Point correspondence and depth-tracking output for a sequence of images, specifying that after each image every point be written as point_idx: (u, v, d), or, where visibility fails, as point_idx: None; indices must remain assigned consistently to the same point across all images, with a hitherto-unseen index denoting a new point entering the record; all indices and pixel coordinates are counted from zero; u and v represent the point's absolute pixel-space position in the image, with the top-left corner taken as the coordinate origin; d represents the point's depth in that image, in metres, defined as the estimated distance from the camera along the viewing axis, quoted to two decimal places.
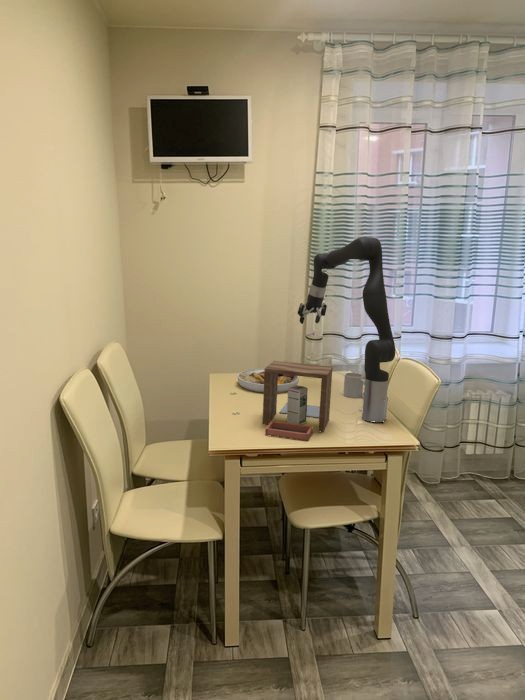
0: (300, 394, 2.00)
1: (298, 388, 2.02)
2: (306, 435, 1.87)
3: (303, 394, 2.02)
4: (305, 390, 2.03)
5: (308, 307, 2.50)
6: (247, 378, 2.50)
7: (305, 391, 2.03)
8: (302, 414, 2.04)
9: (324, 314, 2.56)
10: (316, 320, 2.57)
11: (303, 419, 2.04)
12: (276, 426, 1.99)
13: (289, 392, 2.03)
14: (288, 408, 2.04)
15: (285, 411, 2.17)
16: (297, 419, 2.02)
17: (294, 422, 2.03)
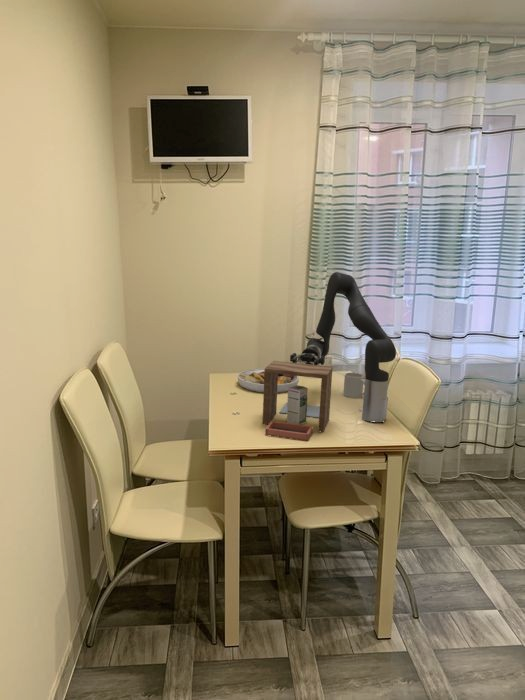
0: (300, 394, 2.00)
1: (298, 388, 2.02)
2: (306, 435, 1.87)
3: (303, 394, 2.02)
4: (305, 390, 2.03)
5: None
6: (247, 378, 2.50)
7: (305, 391, 2.03)
8: (302, 414, 2.04)
9: (323, 358, 2.15)
10: None
11: (303, 419, 2.04)
12: (276, 426, 1.99)
13: (289, 392, 2.03)
14: (288, 408, 2.04)
15: (285, 411, 2.17)
16: (297, 419, 2.02)
17: (294, 422, 2.03)
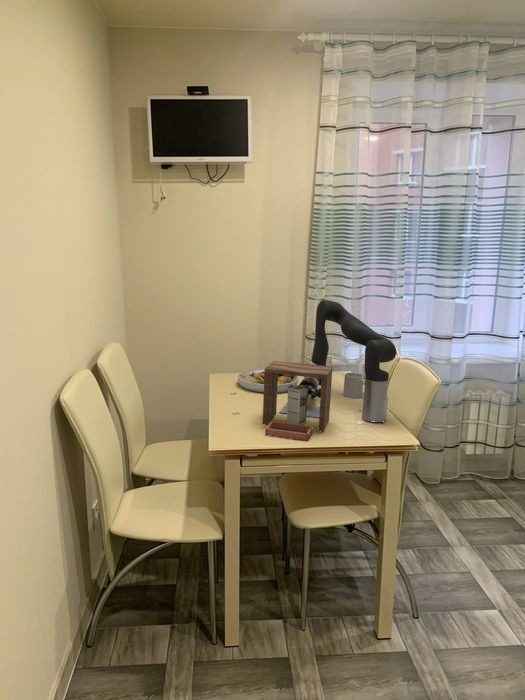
0: (300, 394, 2.00)
1: (298, 388, 2.02)
2: (306, 435, 1.87)
3: (303, 394, 2.02)
4: (305, 390, 2.03)
5: None
6: (247, 378, 2.50)
7: (305, 391, 2.03)
8: (302, 414, 2.04)
9: (320, 391, 2.15)
10: None
11: (303, 419, 2.04)
12: (276, 426, 1.99)
13: (289, 392, 2.02)
14: (288, 408, 2.04)
15: (285, 411, 2.17)
16: (297, 419, 2.02)
17: (294, 422, 2.03)
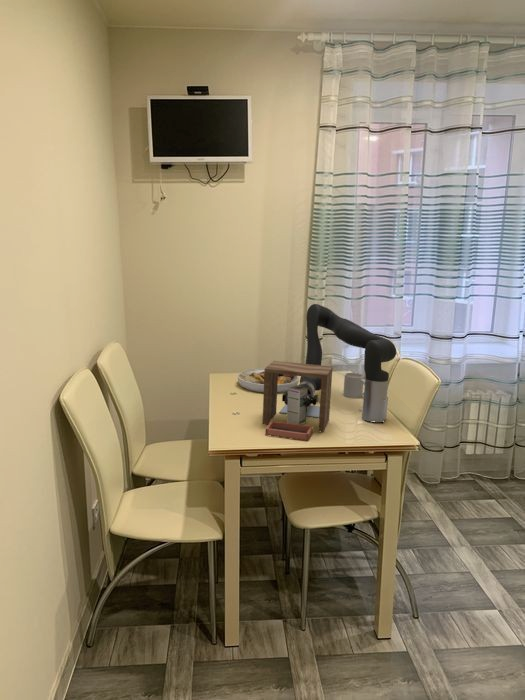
0: (300, 394, 2.00)
1: (298, 388, 2.02)
2: (306, 435, 1.87)
3: (303, 394, 2.02)
4: (305, 390, 2.03)
5: None
6: (247, 378, 2.50)
7: (305, 391, 2.03)
8: (302, 414, 2.04)
9: (315, 398, 2.05)
10: None
11: (303, 419, 2.04)
12: (276, 426, 1.99)
13: (289, 392, 2.02)
14: (288, 408, 2.04)
15: (285, 411, 2.17)
16: (297, 419, 2.02)
17: (294, 422, 2.03)
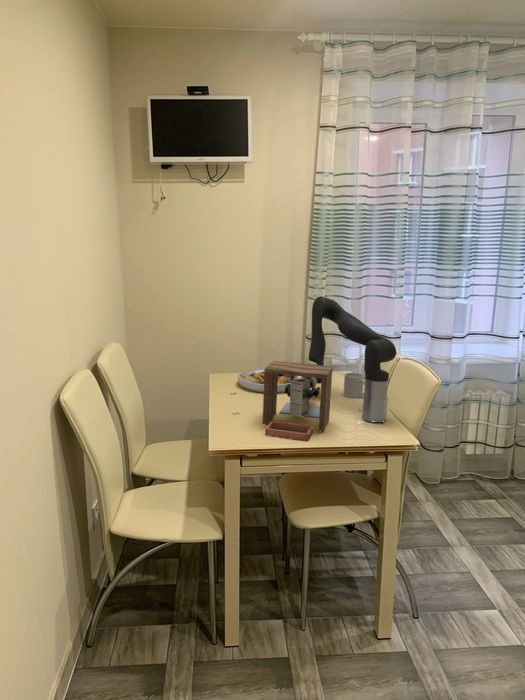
0: (303, 386, 2.04)
1: (300, 380, 2.05)
2: (306, 435, 1.87)
3: (305, 386, 2.06)
4: (307, 382, 2.06)
5: None
6: (247, 378, 2.50)
7: (307, 383, 2.06)
8: (305, 406, 2.07)
9: (317, 390, 2.09)
10: (308, 395, 2.06)
11: (305, 410, 2.08)
12: (276, 426, 1.99)
13: (292, 384, 2.06)
14: (291, 400, 2.08)
15: (285, 411, 2.17)
16: (300, 411, 2.06)
17: (297, 414, 2.07)
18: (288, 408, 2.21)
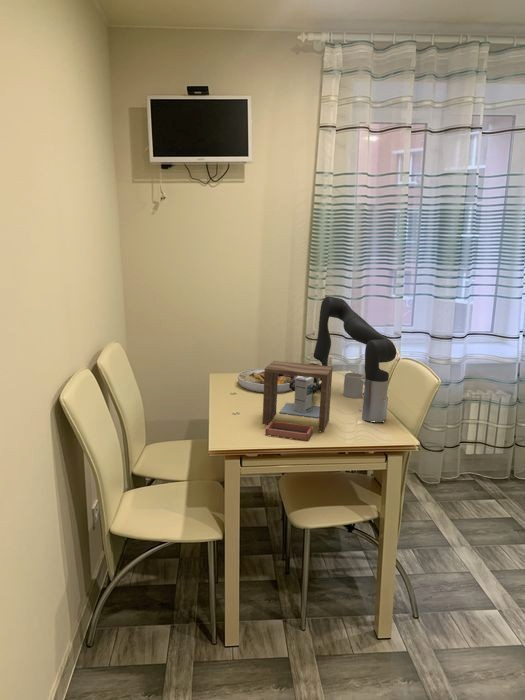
0: (307, 383, 2.14)
1: (305, 377, 2.15)
2: (306, 435, 1.87)
3: (309, 383, 2.15)
4: (311, 379, 2.16)
5: None
6: (247, 378, 2.50)
7: (311, 380, 2.16)
8: (309, 402, 2.17)
9: None
10: (313, 390, 2.16)
11: (309, 406, 2.18)
12: (276, 426, 1.99)
13: (296, 381, 2.16)
14: (295, 396, 2.17)
15: (285, 411, 2.17)
16: (304, 407, 2.15)
17: (301, 409, 2.16)
18: (288, 408, 2.21)
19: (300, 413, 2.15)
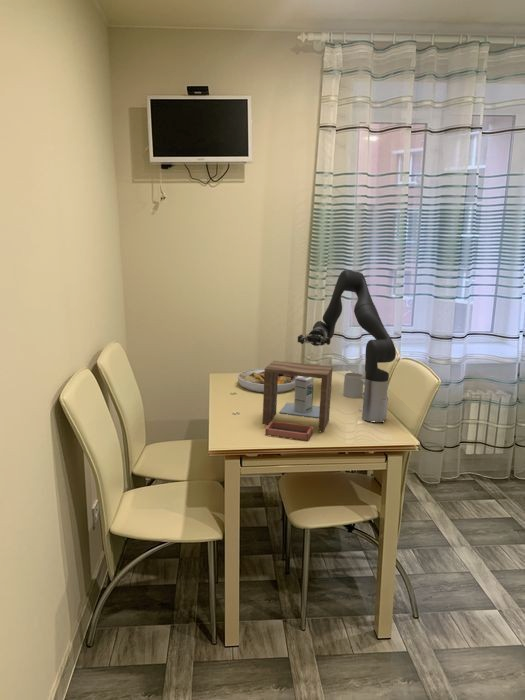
0: (307, 383, 2.14)
1: (305, 378, 2.15)
2: (306, 435, 1.87)
3: (309, 383, 2.15)
4: (311, 379, 2.16)
5: None
6: (247, 378, 2.50)
7: (311, 380, 2.16)
8: (309, 402, 2.17)
9: (329, 338, 2.27)
10: (321, 342, 2.24)
11: (309, 406, 2.18)
12: (276, 426, 1.99)
13: (296, 381, 2.16)
14: (295, 396, 2.17)
15: (285, 411, 2.17)
16: (304, 407, 2.15)
17: (301, 410, 2.16)
18: (288, 408, 2.21)
19: (300, 413, 2.15)
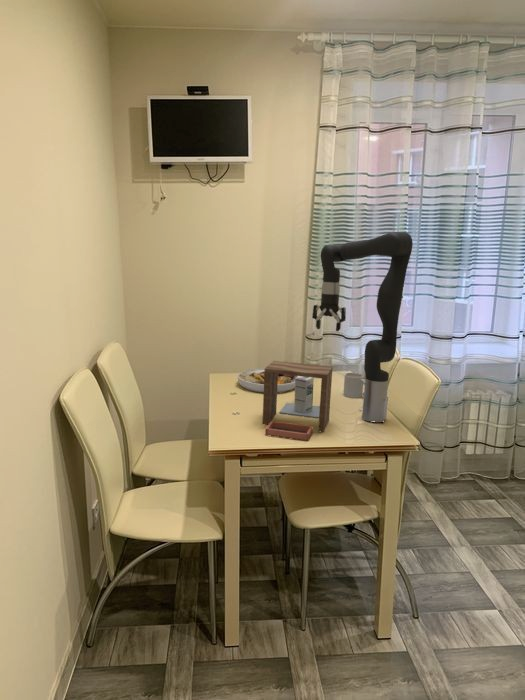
0: (307, 383, 2.14)
1: (305, 378, 2.15)
2: (306, 435, 1.87)
3: (309, 383, 2.15)
4: (311, 379, 2.16)
5: (321, 308, 2.24)
6: (247, 378, 2.50)
7: (311, 380, 2.16)
8: (309, 402, 2.17)
9: (343, 319, 2.20)
10: None
11: (309, 406, 2.18)
12: (276, 426, 1.99)
13: (296, 381, 2.16)
14: (295, 396, 2.17)
15: (285, 411, 2.17)
16: (304, 407, 2.15)
17: (301, 410, 2.16)
18: (288, 408, 2.21)
19: (300, 413, 2.15)
